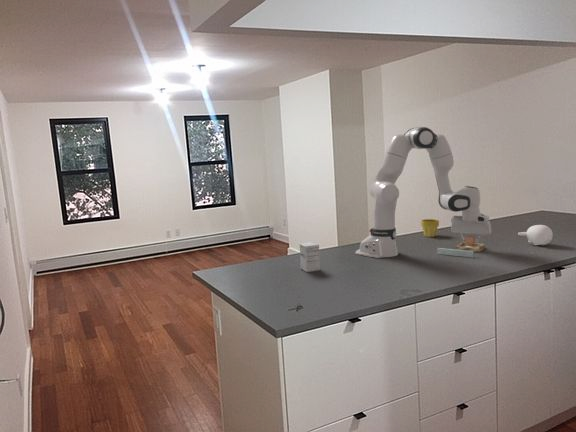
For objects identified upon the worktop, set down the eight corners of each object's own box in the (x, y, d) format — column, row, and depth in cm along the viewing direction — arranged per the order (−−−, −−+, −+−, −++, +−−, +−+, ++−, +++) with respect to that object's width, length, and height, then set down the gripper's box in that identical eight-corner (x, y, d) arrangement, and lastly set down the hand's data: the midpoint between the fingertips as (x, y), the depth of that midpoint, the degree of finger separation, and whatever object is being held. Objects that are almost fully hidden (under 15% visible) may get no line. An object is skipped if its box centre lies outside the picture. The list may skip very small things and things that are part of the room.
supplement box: (300, 268, 233) (299, 243, 231) (314, 266, 235) (313, 241, 233) (306, 272, 226) (305, 246, 224) (320, 270, 229) (319, 244, 227)
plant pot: (431, 233, 301) (431, 218, 300) (442, 236, 292) (442, 220, 290) (417, 235, 298) (417, 219, 296) (428, 238, 288) (428, 222, 287)
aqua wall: (437, 253, 250) (437, 248, 249) (437, 253, 251) (437, 247, 250) (472, 257, 239) (473, 251, 239) (473, 257, 240) (473, 251, 240)
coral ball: (464, 245, 256) (464, 236, 255) (467, 243, 260) (467, 234, 259) (474, 246, 253) (474, 237, 252) (476, 244, 257) (476, 235, 256)
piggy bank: (555, 249, 255) (529, 246, 268) (558, 227, 256) (532, 225, 269) (541, 245, 249) (515, 242, 262) (544, 223, 250) (518, 221, 263)
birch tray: (455, 250, 255) (455, 246, 255) (462, 245, 265) (462, 242, 265) (479, 252, 248) (479, 248, 248) (485, 247, 258) (485, 244, 258)
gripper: (449, 216, 258) (449, 241, 260) (489, 218, 246) (488, 244, 248) (453, 214, 263) (452, 239, 265) (492, 216, 251) (491, 242, 253)
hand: (470, 242), depth 256 cm, fingers closed on coral ball, 5 cm apart
